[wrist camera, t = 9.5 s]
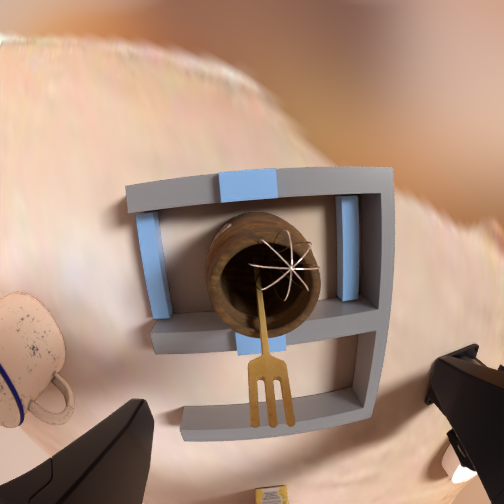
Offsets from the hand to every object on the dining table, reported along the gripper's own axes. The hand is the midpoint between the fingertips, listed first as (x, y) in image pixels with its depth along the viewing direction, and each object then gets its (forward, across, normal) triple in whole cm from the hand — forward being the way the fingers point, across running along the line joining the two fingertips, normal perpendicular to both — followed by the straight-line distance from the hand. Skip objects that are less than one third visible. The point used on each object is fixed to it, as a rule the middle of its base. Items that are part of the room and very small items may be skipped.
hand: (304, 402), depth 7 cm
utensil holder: (+13, 0, -1) cm, 13 cm away
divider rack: (+13, +1, +3) cm, 13 cm away
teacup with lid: (+13, +21, +5) cm, 25 cm away
